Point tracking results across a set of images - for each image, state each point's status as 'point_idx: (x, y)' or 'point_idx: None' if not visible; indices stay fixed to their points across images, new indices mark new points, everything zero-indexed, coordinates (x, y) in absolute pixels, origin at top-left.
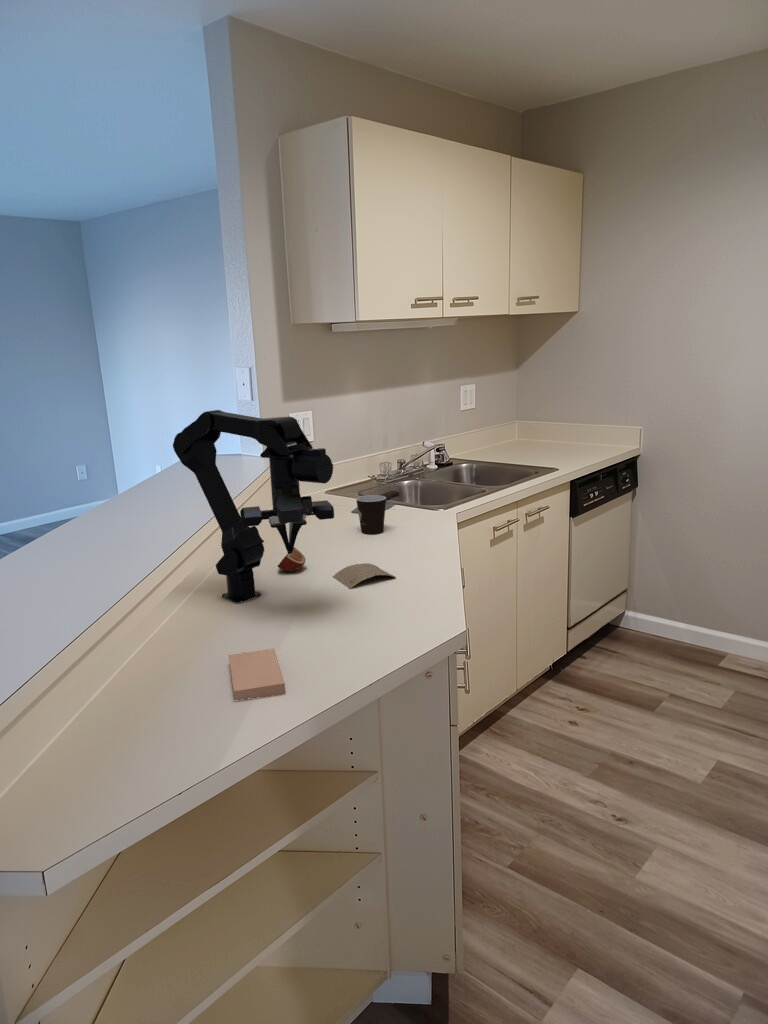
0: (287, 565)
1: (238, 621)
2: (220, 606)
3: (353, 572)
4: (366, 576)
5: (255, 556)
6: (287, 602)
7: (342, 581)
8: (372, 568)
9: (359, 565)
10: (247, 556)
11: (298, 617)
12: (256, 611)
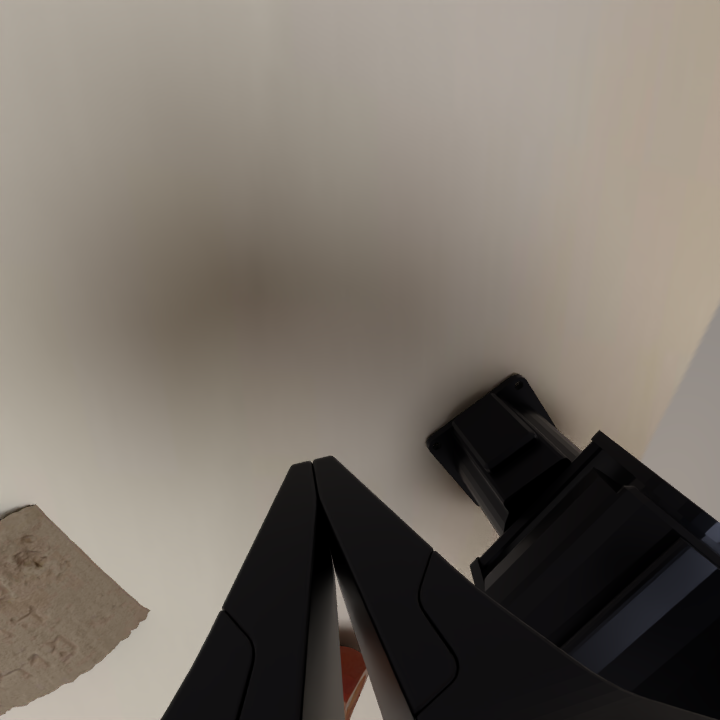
0: None
1: (526, 167)
2: (573, 353)
3: (25, 630)
4: None
5: (539, 554)
6: (316, 368)
7: (87, 572)
8: None
9: (10, 694)
10: (609, 516)
11: (246, 160)
12: (446, 279)
